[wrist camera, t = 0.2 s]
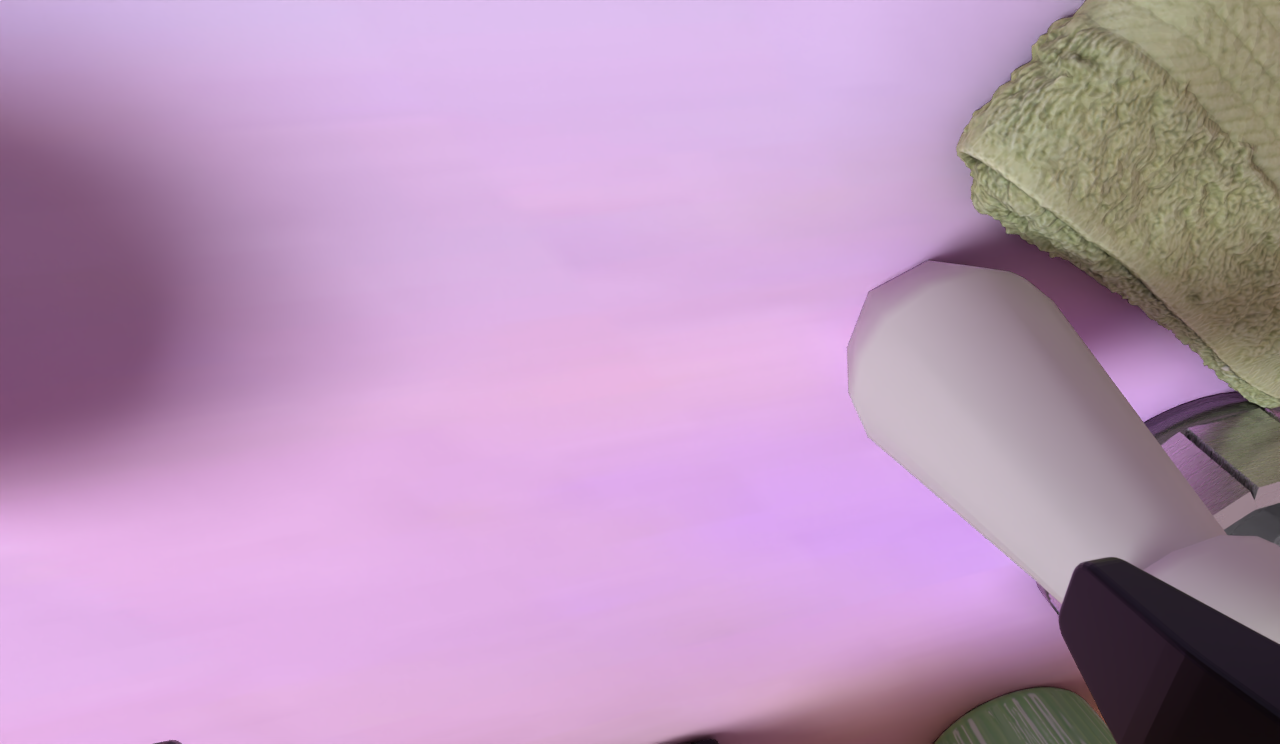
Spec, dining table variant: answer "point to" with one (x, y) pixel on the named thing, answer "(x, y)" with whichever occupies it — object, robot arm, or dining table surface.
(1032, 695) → the ramekin
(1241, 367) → the washcloth
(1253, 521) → the faceted metal bowl
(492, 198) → the dining table surface
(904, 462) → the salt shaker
